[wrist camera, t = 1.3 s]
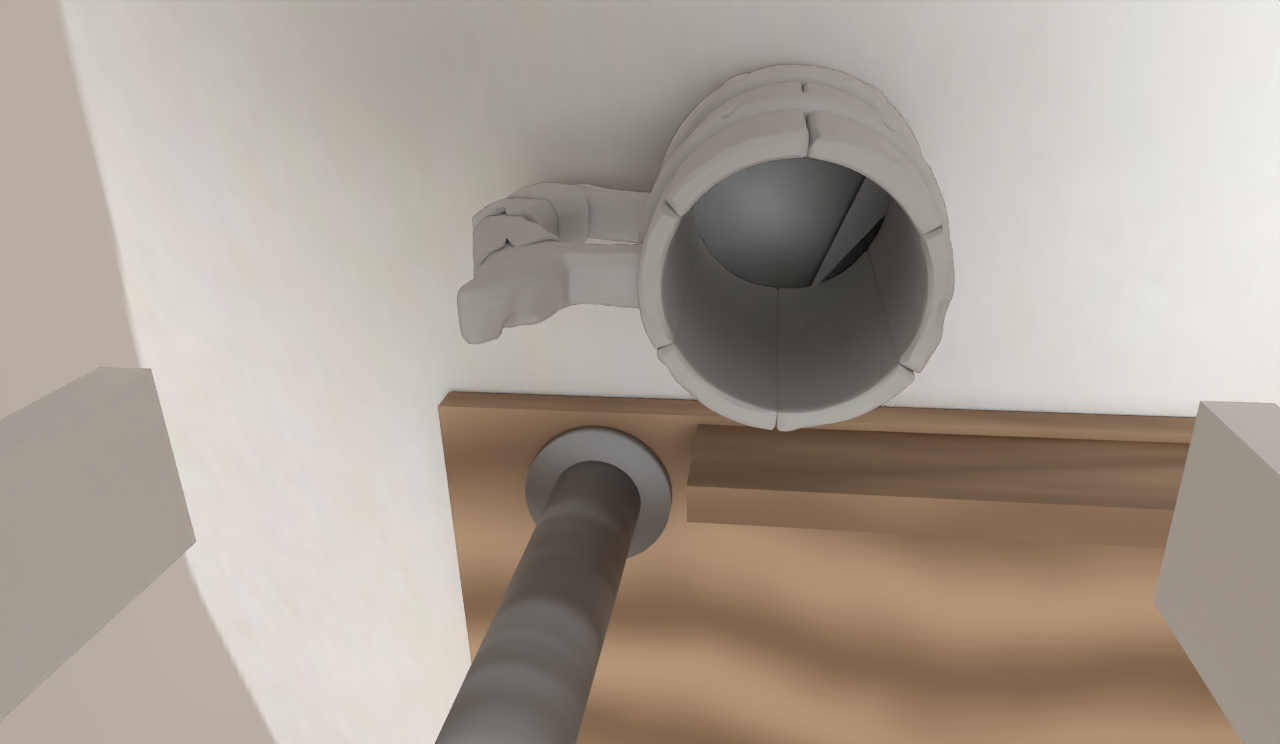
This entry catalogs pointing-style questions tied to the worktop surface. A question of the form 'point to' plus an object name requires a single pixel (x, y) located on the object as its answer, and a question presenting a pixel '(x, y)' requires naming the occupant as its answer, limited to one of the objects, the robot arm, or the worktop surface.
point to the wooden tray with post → (815, 577)
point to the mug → (716, 298)
